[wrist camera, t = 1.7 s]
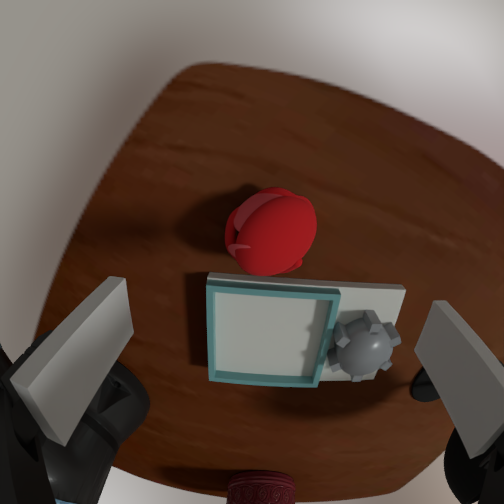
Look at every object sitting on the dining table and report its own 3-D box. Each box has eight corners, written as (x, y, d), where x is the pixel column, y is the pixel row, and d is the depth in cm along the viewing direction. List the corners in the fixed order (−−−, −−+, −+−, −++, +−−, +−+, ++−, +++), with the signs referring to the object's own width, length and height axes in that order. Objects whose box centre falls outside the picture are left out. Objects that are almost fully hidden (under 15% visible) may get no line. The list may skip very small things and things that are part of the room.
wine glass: (481, 341, 29) (550, 440, 10) (455, 393, 32) (501, 487, 13) (425, 352, 29) (492, 480, 10) (401, 405, 33) (440, 519, 14)
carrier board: (211, 366, 31) (205, 389, 27) (209, 271, 27) (201, 290, 23) (371, 372, 30) (379, 394, 27) (401, 284, 26) (416, 302, 23)
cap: (236, 291, 24) (303, 302, 20) (201, 238, 20) (276, 241, 17) (275, 228, 28) (333, 229, 25) (252, 176, 25) (316, 170, 21)
